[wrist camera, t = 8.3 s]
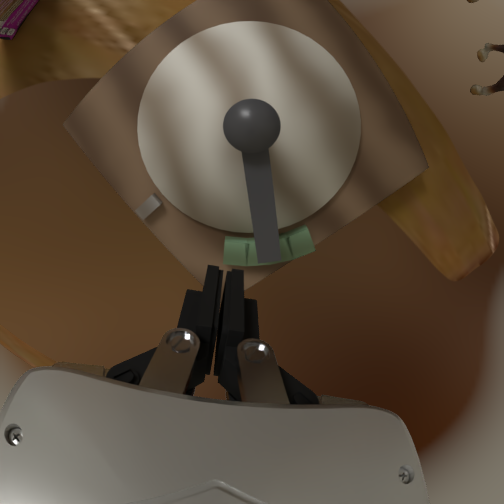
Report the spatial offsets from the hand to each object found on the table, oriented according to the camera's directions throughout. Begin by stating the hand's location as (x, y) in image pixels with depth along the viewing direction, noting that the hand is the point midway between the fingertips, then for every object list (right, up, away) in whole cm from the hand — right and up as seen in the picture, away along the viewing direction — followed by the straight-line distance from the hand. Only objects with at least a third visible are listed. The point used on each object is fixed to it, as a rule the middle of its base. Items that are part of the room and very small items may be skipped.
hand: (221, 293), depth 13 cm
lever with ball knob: (+2, +9, +10) cm, 13 cm away
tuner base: (+1, +14, +11) cm, 18 cm away
